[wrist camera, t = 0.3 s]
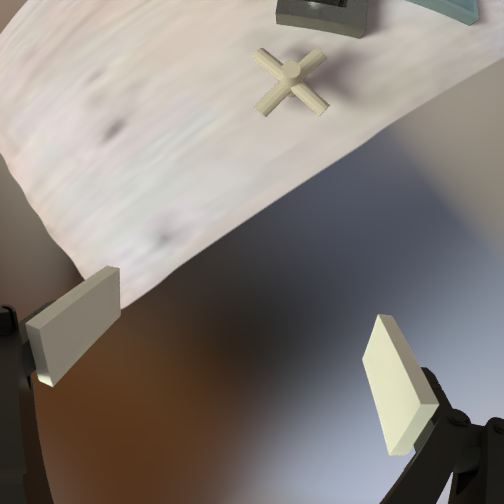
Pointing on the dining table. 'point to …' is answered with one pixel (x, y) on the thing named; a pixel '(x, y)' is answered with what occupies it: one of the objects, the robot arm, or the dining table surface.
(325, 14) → the block
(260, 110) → the pipe connector
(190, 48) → the dining table surface
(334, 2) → the shiny metal cylinder
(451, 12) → the parts tray
